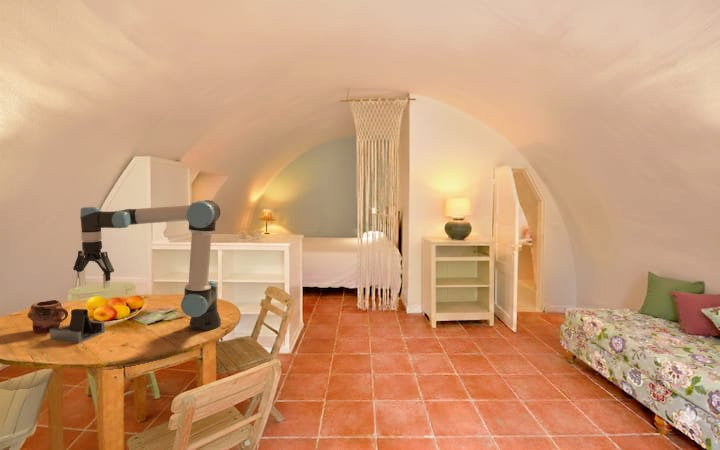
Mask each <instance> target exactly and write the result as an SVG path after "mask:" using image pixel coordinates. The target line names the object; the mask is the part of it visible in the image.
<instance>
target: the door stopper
mask: <svg viewBox="0 0 720 450" xmlns="http://www.w3.org/2000/svg"><path fill="white" fill-rule="evenodd" d="M70 316H71V317H70V323H69V324H70V326H69V330H73V331H81V337H83V336H85V335H87V334H89V333H90V332H92V331H93V327H92V324H91V322H90V321H91V320H90V317H89V310H88V309H87V308H80V309H79V308H74V309H71V311H70Z"/></svg>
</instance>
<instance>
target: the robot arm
mask: <svg viewBox="0 0 720 450" xmlns="http://www.w3.org/2000/svg"><path fill="white" fill-rule="evenodd" d="M220 216H221V208H220V206H219V204H218V203H216V202H215V201H213V200H207V199H205V200H198V201H196V202H191V204H188V205H173V206H160V207H143V208H128V209H123V210H122V209H121V210H116V211H115V210H114V211H112V210H111V211H102V210H101V208H100V207H99V206H84V207H81V208H80V217H79V219H80V226H81V227H80V228H81V231H80V232H81V246H82V250H77V257H76V260H75V262H74V265H73V271H76V273H77V279H78V286H79V287H82V286H85V285H86V282H87V281H86V271H85V269H86V267H87V265H88V264H89V262H95V263H96V264H97V265H98V266H99V268H100V269H101V271H102V272H103V274H102V283H103V286H102V287H103V289H108V288H110V287H111V283H110V282H111V273H114V272H115V269H114V267H113V264H112V262H111V261H110V258H109V255H108V251H103V252H102V251H101V250H102V249H103V241H102V229H107V228H108V229H123V228H125V229H126V228H128V227H129V226H132V225H145V224H158V223H159V224H160V223H172V222H173V223H174V222H188V230H189V232H190V233H191V239H190V240H191V241H190V242H191V243H190V253H189V255H190V257H189V268H188V269H189V270H188V272H189V273H188V282H187V284H185V286H184V291H183V292H184V295H183V297H182V298H181V300H180V301H181V302H180V309H181V311H182V312H183V314H185V315H186V316H187V317H190V320H189V326H188V327H189V329H191V330H193V331H201V332H203V331H209V330H213V329H217V328H219V327H220V326H221V324H222V318H221V316H220V314H219V312H218V311H219V310H218V292H217V291H218V290H217V289H218V286H217V282H216V281H214V280H209V274H210V272H209V271H210V259H211V245H212V234H213V233H214V232H215V231H216V225H217V223H216V222H217V221H218V220H219V218H220Z"/></svg>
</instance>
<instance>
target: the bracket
mask: <svg viewBox="0 0 720 450" xmlns="http://www.w3.org/2000/svg"><path fill="white" fill-rule="evenodd" d="M90 322H91V324H92V327H93V331H92V332H90V333H89V334H87V335H85V336H83V337H81V331H73V330H69V326H70V323H68V324H65V325H64V326H60V327H59V328H57V329H56V328H52V329H50V333H49V340H51V341H58V342H64V343H65V342H66V343H73V344H80V343H83V342H85V341H87V340H90V339H93V338H95V337H96V336H99V335H102V334H104V333H105V332H106V330H105V322H104V321H96V320H90Z"/></svg>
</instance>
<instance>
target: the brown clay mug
mask: <svg viewBox="0 0 720 450" xmlns="http://www.w3.org/2000/svg"><path fill="white" fill-rule="evenodd" d="M68 316H69V311H68V310H67V309H66V308H65V307H63V305H62V303H61V301H59V300H56V299H52V300H45V301H38V302H35V303H32V305H30V309H29V310H28V314H27V318H28V319H29V320H31V321H32V330H33V332H34V333H35V334H39V335H40V334H41V335H43V334H50V329H52V328H56V329H57V328H60V327H61V326H60V325H61V323H63V322H64V321H65V320H66V319H67V318H68Z"/></svg>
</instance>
